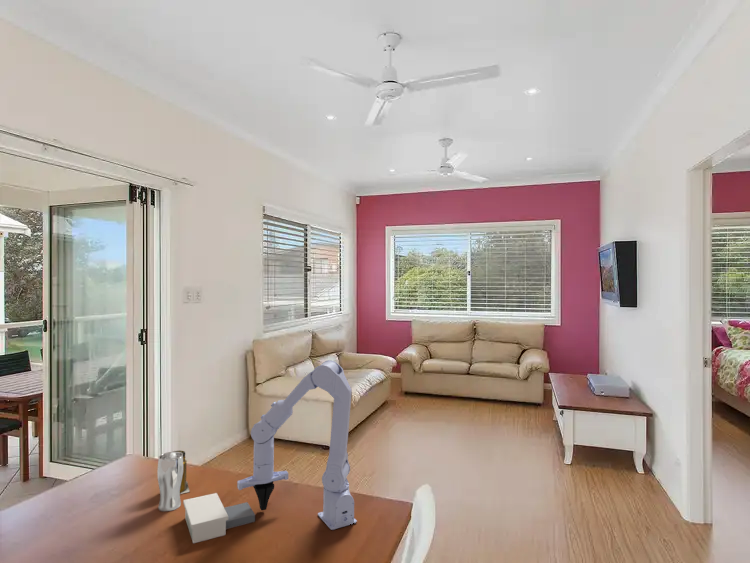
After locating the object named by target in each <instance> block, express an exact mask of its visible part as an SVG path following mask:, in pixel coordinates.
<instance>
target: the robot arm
mask: <svg viewBox="0 0 750 563" xmlns="http://www.w3.org/2000/svg"><path fill="white" fill-rule="evenodd" d="M317 388H319V389H321V390H324V391H325V392H327V393H328V394H329V395H330V397H332V398H333V403H332V404H333V406H332V407H333V408H332V416H331V417H332V418H331V431H330V442H329V452H328V453H329V454H328V456H327V462H326V467H325V471H324V472H323V473H322V477H321V483H322V485H323V494H322V495H323V496H322V497H323V500H322V501H323V502H322V503H323V505H322V506H323V509H322V511H320V512H317V516H318V517H319V518H320V519H321V521H322V522H324V524H326V526H327V527H328V528H329V529H330V531H331V530H332V531H334V530H336V529H337V530H338V529H340V528H343V527H348V526H350V524H351V525H353V523H354V524H357V523H358V520H357V519H356V518H355V500H354V497H353V495H351V492H350V483H349V480H348V475H349V474H350V471H351V465H350V463H349V454H348V441H349V428H350V418H351V417H350V416H351V406H352V405H351V404H352V393H353V390H352V387H351V386H350V383H349V381H348V379H347V377H346V375H345V371H344V368H343V367H342V366H341V365H340V364H339V363H338V362H337V361H336V360H332V359H329V360H328V359H327V360H325V361H323V362H322V363H321V364H320V365H317V366H316V367H315V368H314V369H313V370H312V371H311V372H309V373H308V374H307V375H305V376H304V377H303V378H302V379H301V380H300V381H299V383H298V384H297V385H296V386H295V387H294V388H293V389H292V391H291V392H290V393H289V395H287V397H286V398H285V399H278V400H277V401H274V402H272V403H271V404H270V406H271V408H270V409H268V410H267V411H266V413H265V414H262V415H261V416H260V420H259V421H258V422H256V423H254V424H253V426H252V428H251V430H250V436H251V439H252V440H253V467H252V468H253V475H251V476H248V477H245V478H243V479H240V480H239V479H238V480H237V481H236V482H237V484H236V485H237V486H236V487H237V489H238V491H241V490H243V489H246V488H250V487H252V488H253V489H254V491H255V493H256V496H257V500H258V504H259V509H260V510H261V511H266V510H267V508H268V503H269V500H270V497H271V495H272V493H273V491H274V490H275V483H274V482H278V481H282V480H285V481H287V480H289V472H288V470H281V471H280V470H279V471H275V470H274V469H275V468H274V464H275V463H274V462H275V460H274V459H275V457H274V455H275V451H274V450H275V438H274V437H275V435H276V434H277V431H278V430H279V429H280V428H281V427H282V426H283V425H284V424H285V423H286V421H287V420H289V419H290V417H292V415H293V412H294V411H293V410H294V409H293V407H294V406H295V405H296V404H297V403H298V402H299V401H300V400H301V399H302V398H304V397H305V395H306V394H307V393H308V392H309V391H310V390H316V389H317ZM356 522H357V523H356Z"/></svg>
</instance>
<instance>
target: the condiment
mask: <svg viewBox="0 0 750 563" xmlns="http://www.w3.org/2000/svg"><path fill="white" fill-rule="evenodd" d="M172 452H181V453H183V476H182V482H181V487H180V495H181V494H186V493H187V494H188V493H190V488H189V482H188V480H187V459H186V451H184V450H174V451H173V450H172Z"/></svg>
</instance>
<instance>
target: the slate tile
mask: <svg viewBox="0 0 750 563" xmlns="http://www.w3.org/2000/svg"><path fill="white" fill-rule="evenodd" d="M224 508H225V510H226V512H227V514H228V520H226V530H228V529H232V528H236V527H240V526H244V525H248V524H252V523H255V522H256V514H255V512H254V511H253V508H251V505H250V504H249V502H247V501H246V502H242V503H238V504H234V505H229V506H226V507H224Z"/></svg>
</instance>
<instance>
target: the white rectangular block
mask: <svg viewBox="0 0 750 563" xmlns="http://www.w3.org/2000/svg"><path fill="white" fill-rule="evenodd" d="M182 504H183V507H184V510H185V515H184V516H185V518H184V519H185V521H186V526H187V528H188V532H189V535H190V538H191V540H192V541H191V542H192V544H196V543H197V544H198V543H200V542H204V541H208V540H211V539H215V538H219V537H224V536H226V532H227V531H226V530H227V529H226V520H228V514H227V512H226V510H225V507H224V504H223V503H222V501H221V498H220V496H219V495H218V492H214V493H210V494H205V495H200V496H197V497H193V498H192V497H191V498H187V499H183V502H182Z"/></svg>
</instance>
